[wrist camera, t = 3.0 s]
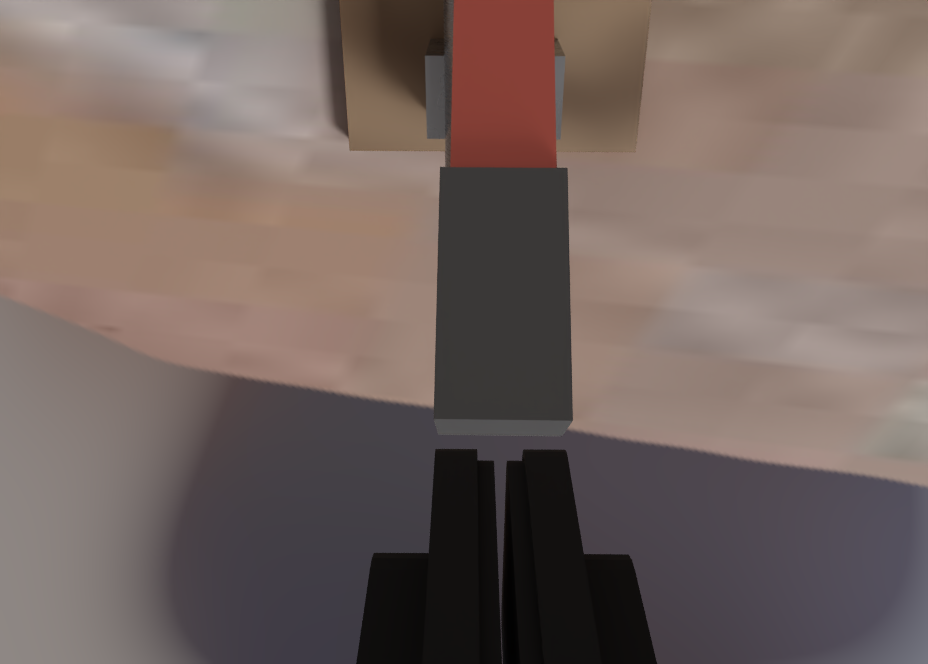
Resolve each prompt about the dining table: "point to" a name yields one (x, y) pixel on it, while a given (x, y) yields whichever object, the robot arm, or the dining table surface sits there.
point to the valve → (441, 83)
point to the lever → (503, 231)
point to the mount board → (422, 18)
